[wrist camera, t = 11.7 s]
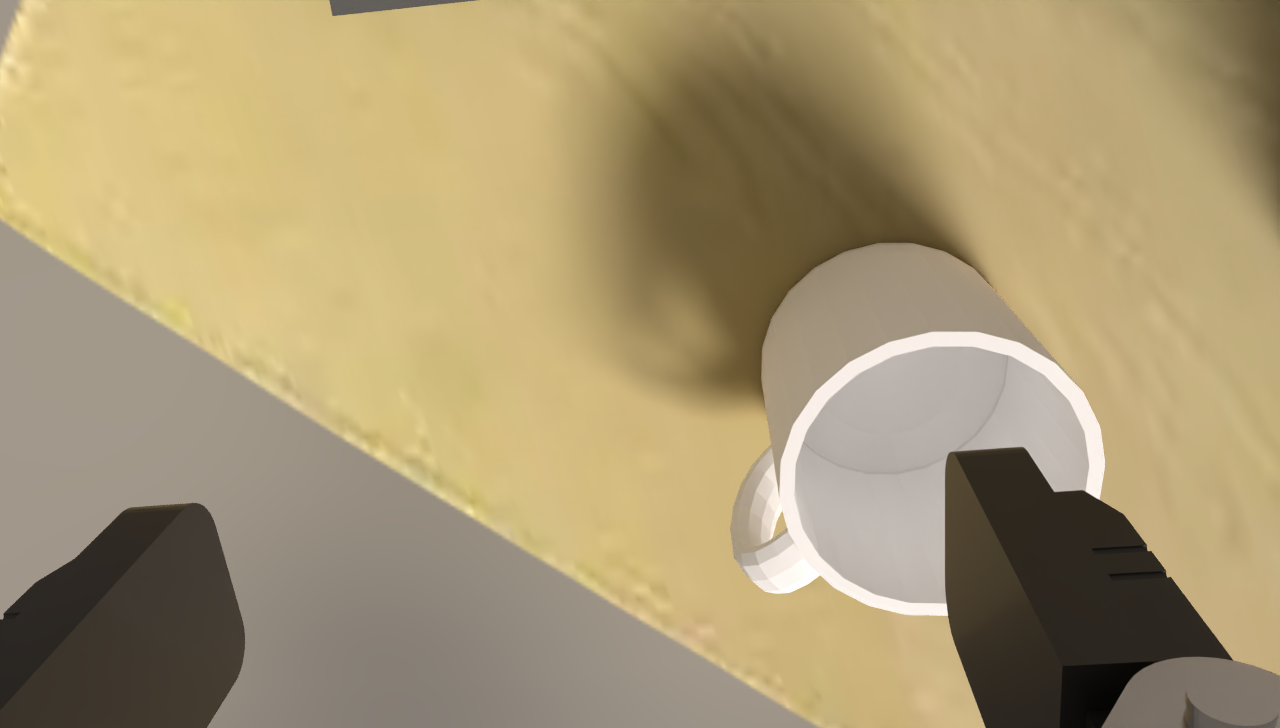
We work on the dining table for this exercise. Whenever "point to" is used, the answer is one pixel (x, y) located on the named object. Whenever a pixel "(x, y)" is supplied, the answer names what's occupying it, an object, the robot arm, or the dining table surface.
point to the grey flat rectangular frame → (380, 5)
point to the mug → (894, 422)
